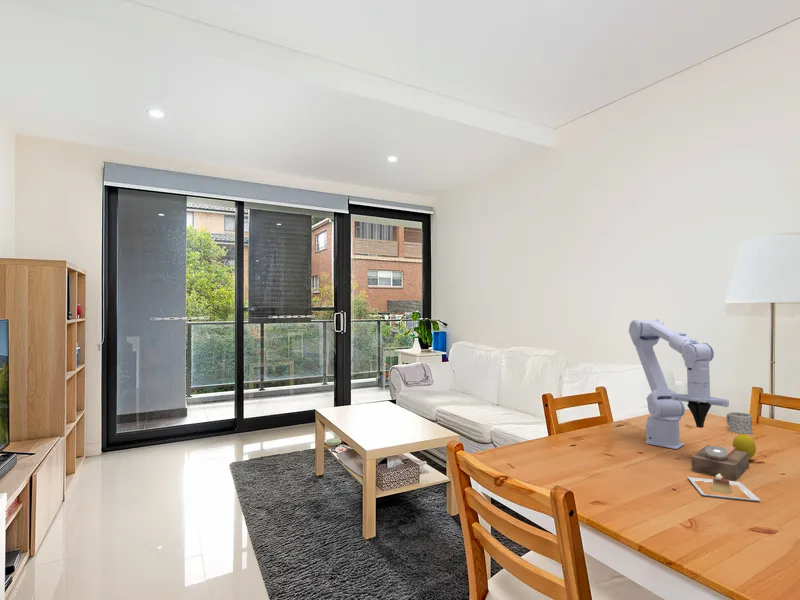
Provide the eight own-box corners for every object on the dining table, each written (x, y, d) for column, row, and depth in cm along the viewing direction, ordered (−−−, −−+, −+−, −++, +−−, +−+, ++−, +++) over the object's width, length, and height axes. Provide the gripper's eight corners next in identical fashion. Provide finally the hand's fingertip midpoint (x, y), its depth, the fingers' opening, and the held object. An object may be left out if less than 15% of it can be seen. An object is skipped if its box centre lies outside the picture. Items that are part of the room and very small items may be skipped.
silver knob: (703, 470, 122) (702, 448, 122) (708, 465, 126) (707, 444, 126) (725, 475, 118) (725, 453, 118) (730, 470, 122) (729, 448, 122)
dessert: (740, 486, 113) (739, 467, 114) (761, 505, 102) (760, 484, 102) (687, 480, 117) (686, 463, 118) (701, 498, 106) (701, 479, 106)
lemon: (760, 463, 128) (759, 436, 128) (739, 462, 129) (738, 435, 130) (749, 457, 134) (748, 431, 134) (729, 456, 135) (728, 430, 135)
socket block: (692, 470, 123) (691, 456, 123) (707, 458, 134) (707, 445, 134) (735, 480, 115) (735, 465, 116) (748, 466, 126) (748, 452, 126)
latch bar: (719, 447, 131) (719, 444, 131) (735, 450, 128) (735, 447, 128) (711, 453, 126) (711, 450, 126) (728, 456, 123) (728, 453, 123)
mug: (757, 434, 158) (756, 416, 158) (738, 434, 158) (738, 416, 159) (736, 427, 168) (735, 410, 168) (718, 427, 168) (718, 410, 169)
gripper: (667, 381, 136) (669, 424, 135) (723, 386, 125) (725, 434, 125) (674, 379, 141) (676, 421, 140) (729, 384, 130) (731, 429, 129)
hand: (700, 427), depth 133 cm, fingers closed
